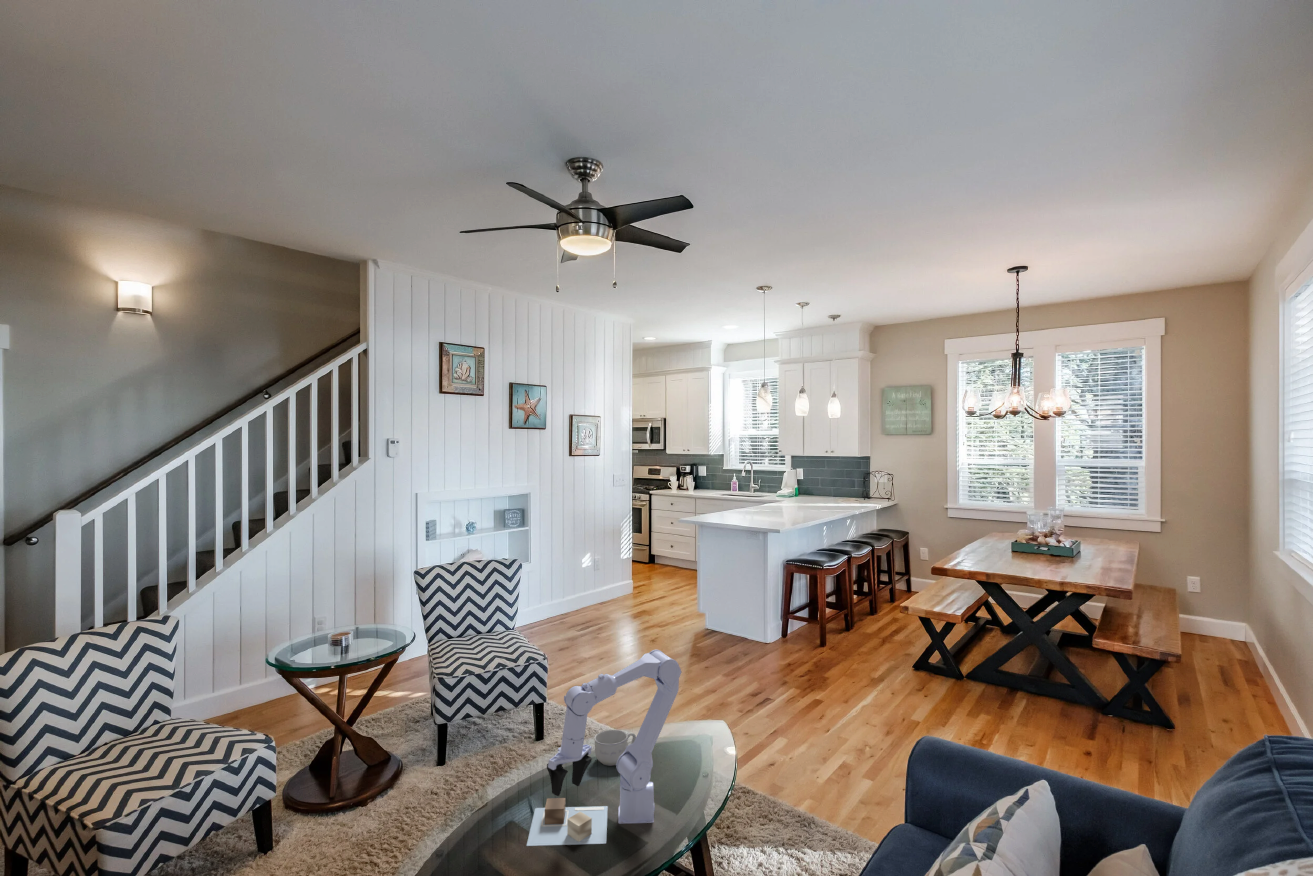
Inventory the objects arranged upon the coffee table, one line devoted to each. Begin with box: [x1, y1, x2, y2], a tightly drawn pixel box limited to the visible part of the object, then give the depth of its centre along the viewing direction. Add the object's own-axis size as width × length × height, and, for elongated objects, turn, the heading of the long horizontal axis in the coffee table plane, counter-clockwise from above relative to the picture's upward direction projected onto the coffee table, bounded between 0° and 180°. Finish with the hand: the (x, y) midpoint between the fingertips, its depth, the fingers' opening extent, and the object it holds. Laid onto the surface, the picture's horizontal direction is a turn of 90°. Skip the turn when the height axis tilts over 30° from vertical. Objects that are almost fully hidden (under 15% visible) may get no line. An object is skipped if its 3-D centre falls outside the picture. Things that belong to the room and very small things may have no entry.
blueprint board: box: [525, 805, 609, 847], centre depth 164 cm, size 20×16×1 cm
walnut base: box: [544, 797, 566, 824], centre depth 167 cm, size 5×5×4 cm
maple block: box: [567, 812, 592, 842], centre depth 160 cm, size 4×4×4 cm
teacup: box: [593, 729, 637, 767], centre depth 199 cm, size 14×11×8 cm
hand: (565, 789), depth 160 cm, fingers open, 7 cm apart
